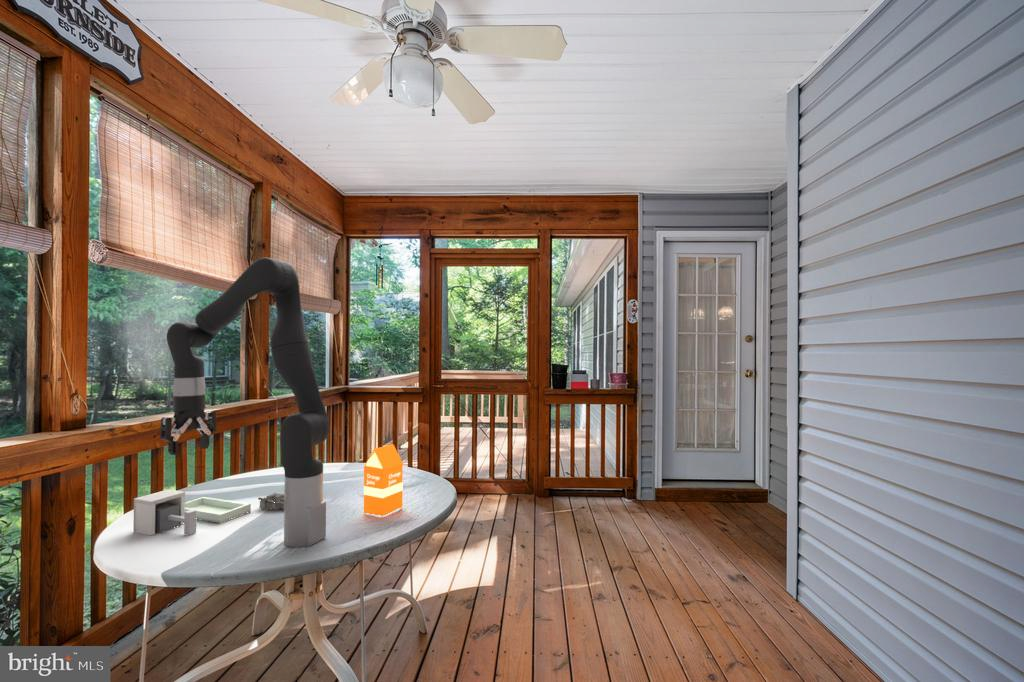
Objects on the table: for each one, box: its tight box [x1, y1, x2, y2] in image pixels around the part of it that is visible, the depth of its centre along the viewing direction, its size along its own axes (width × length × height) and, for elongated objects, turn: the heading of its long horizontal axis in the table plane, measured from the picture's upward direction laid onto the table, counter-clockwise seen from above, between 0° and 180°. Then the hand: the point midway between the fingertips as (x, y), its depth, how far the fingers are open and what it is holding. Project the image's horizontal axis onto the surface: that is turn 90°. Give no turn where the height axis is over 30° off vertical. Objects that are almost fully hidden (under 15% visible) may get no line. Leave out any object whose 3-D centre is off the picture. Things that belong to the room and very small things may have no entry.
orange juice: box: [363, 443, 404, 516], centre depth 143 cm, size 8×9×20 cm
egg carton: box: [257, 492, 284, 510], centre depth 148 cm, size 11×8×4 cm
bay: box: [132, 488, 186, 536], centre depth 130 cm, size 7×9×9 cm
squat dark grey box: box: [155, 503, 197, 536], centre depth 129 cm, size 15×5×6 cm, turn 70°
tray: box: [185, 496, 252, 524], centre depth 142 cm, size 20×10×2 cm, turn 70°
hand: (189, 451), depth 131 cm, fingers open, 8 cm apart
